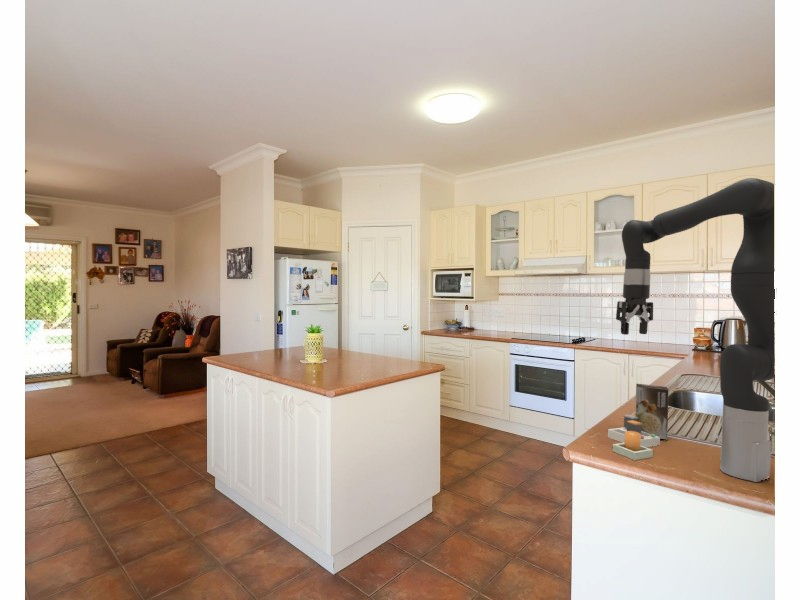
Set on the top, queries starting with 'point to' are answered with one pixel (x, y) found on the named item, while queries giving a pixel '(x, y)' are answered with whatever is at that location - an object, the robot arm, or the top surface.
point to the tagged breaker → (634, 426)
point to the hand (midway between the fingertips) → (633, 334)
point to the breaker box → (646, 438)
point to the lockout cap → (632, 440)
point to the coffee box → (652, 409)
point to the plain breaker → (628, 418)
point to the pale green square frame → (631, 454)
